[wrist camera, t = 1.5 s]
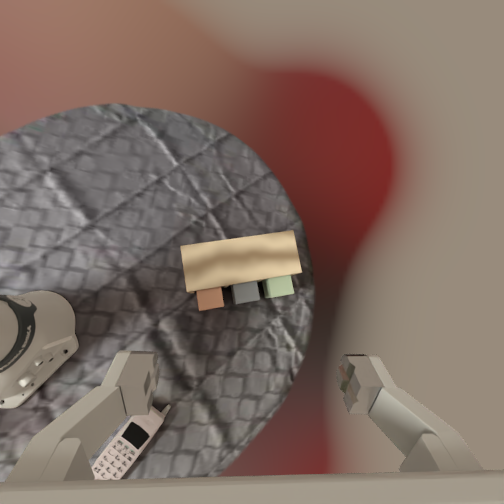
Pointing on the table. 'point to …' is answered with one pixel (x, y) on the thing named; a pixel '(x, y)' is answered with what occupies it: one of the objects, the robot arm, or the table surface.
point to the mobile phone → (128, 445)
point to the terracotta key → (210, 298)
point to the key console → (239, 260)
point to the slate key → (245, 292)
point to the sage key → (277, 286)
